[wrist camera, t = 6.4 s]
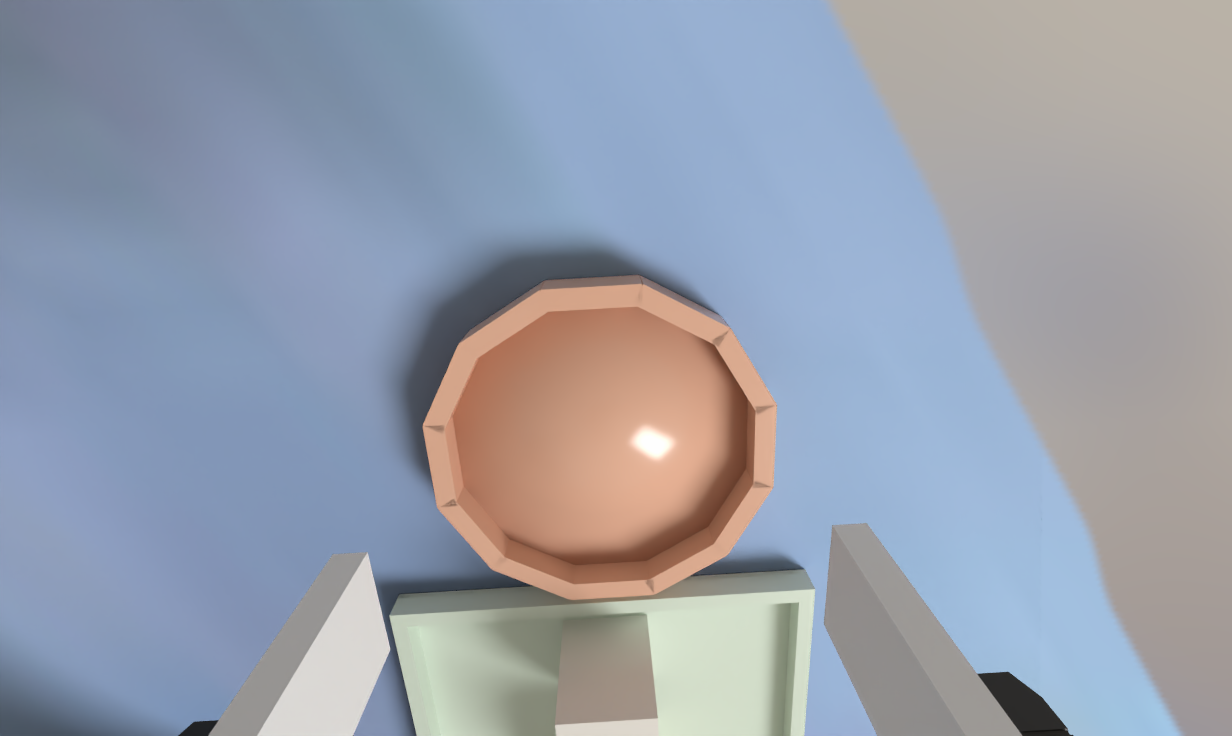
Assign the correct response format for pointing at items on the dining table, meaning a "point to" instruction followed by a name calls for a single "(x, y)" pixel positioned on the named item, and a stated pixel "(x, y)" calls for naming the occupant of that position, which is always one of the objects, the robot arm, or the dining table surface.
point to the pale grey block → (606, 679)
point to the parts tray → (677, 617)
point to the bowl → (601, 438)
